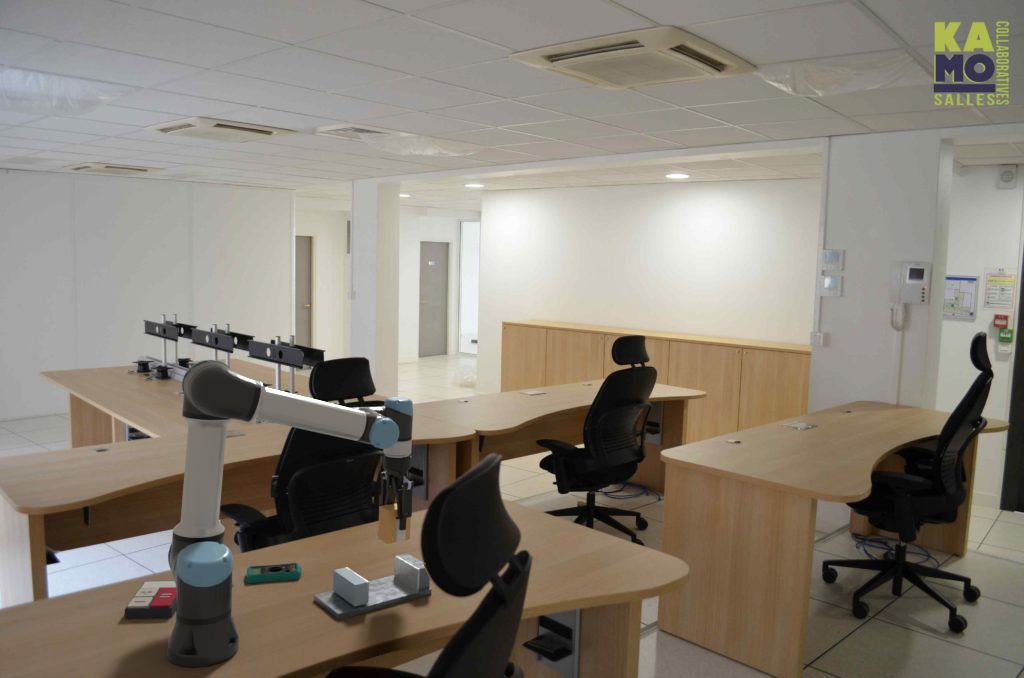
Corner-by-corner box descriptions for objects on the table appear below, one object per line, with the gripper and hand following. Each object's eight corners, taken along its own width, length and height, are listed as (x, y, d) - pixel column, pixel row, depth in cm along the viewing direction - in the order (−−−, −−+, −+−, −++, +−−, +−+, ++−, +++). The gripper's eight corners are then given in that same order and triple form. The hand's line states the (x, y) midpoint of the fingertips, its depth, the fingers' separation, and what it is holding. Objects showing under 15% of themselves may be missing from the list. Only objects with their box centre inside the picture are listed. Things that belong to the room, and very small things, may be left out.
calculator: (124, 606, 185) (143, 579, 200) (124, 623, 186) (144, 594, 200) (171, 605, 187) (187, 578, 201) (171, 621, 187) (187, 593, 202)
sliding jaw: (354, 606, 194) (355, 585, 194) (333, 590, 203) (333, 570, 203) (368, 602, 197) (369, 581, 196) (346, 587, 206) (347, 566, 205)
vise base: (338, 619, 190) (339, 590, 190) (313, 600, 201) (314, 572, 200) (431, 594, 208) (432, 567, 208) (404, 577, 219) (405, 552, 218)
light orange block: (387, 543, 203) (388, 511, 202) (378, 538, 207) (379, 506, 206) (409, 539, 207) (411, 507, 207) (400, 534, 211) (401, 502, 211)
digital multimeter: (302, 580, 214) (302, 570, 214) (246, 585, 209) (246, 575, 209) (300, 571, 221) (300, 561, 221) (246, 575, 216) (246, 565, 216)
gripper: (427, 459, 201) (424, 545, 203) (392, 446, 215) (389, 526, 216) (403, 463, 196) (400, 550, 198) (368, 449, 210) (366, 531, 212)
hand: (394, 537), depth 207 cm, fingers closed on light orange block, 5 cm apart
